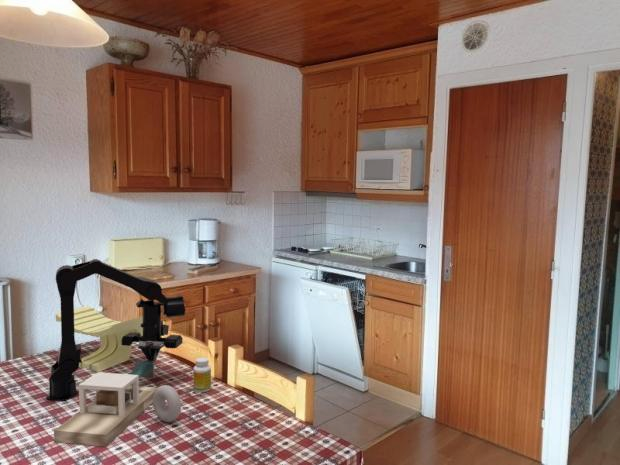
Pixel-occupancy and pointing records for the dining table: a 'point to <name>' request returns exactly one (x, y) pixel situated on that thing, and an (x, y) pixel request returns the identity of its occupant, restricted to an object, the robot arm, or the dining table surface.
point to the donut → (172, 399)
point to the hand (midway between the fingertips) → (152, 365)
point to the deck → (102, 422)
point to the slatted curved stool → (104, 337)
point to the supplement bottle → (202, 375)
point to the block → (107, 397)
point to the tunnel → (110, 388)
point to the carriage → (141, 369)
